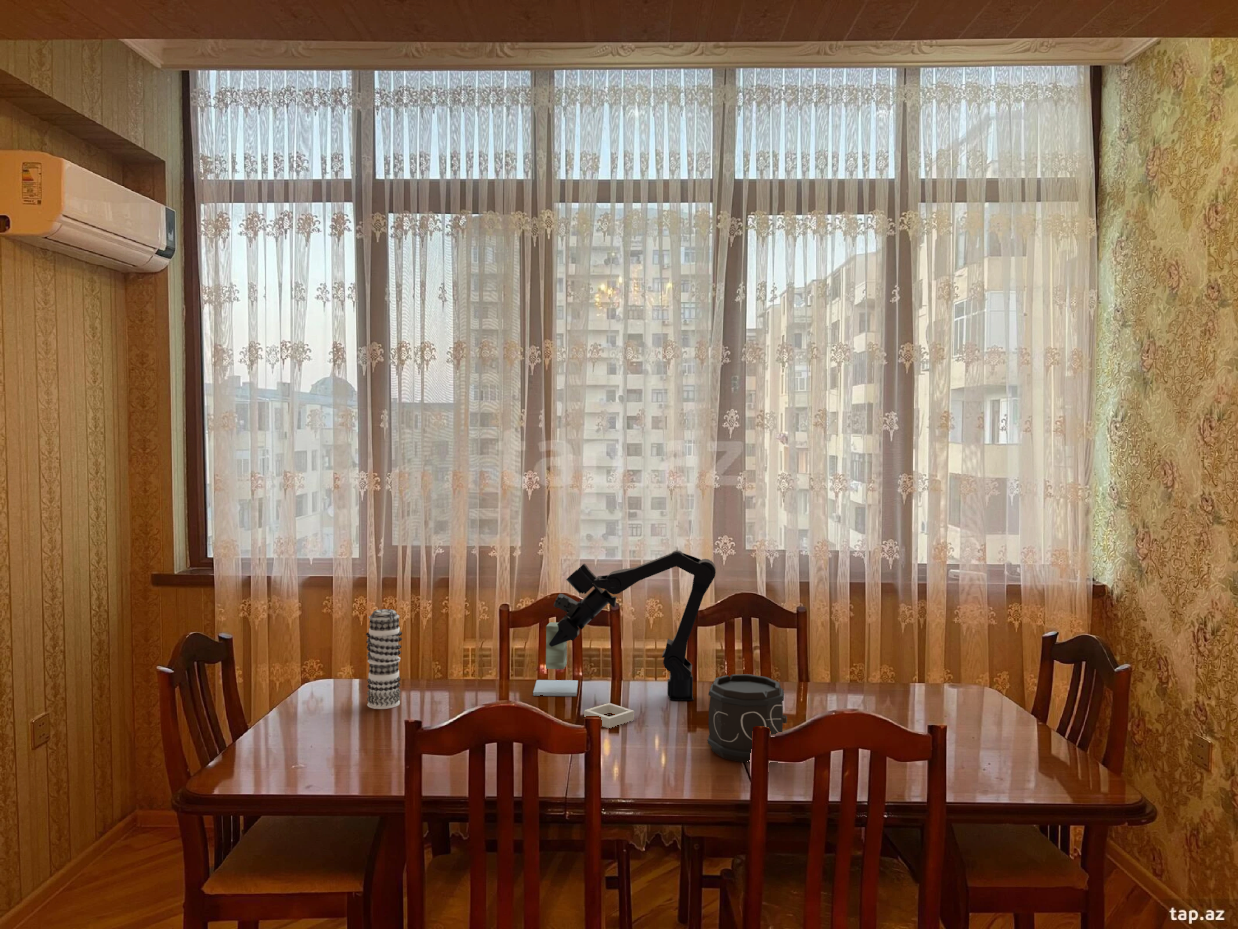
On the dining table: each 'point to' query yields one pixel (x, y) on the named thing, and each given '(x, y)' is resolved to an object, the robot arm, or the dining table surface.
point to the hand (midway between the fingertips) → (551, 643)
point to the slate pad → (556, 688)
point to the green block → (555, 649)
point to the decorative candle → (383, 659)
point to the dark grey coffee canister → (742, 713)
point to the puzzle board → (619, 718)
